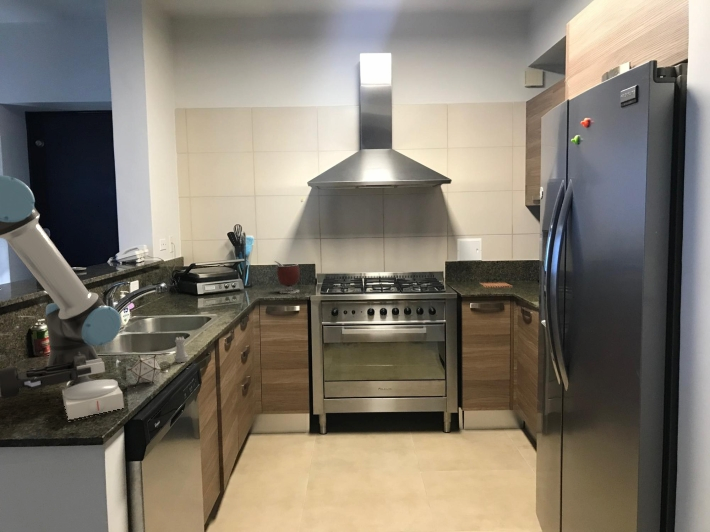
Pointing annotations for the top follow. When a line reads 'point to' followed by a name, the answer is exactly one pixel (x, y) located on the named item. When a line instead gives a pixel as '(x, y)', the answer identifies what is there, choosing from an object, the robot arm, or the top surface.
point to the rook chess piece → (180, 350)
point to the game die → (145, 369)
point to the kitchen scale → (92, 398)
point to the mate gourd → (288, 276)
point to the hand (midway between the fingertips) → (102, 364)
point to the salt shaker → (80, 361)
